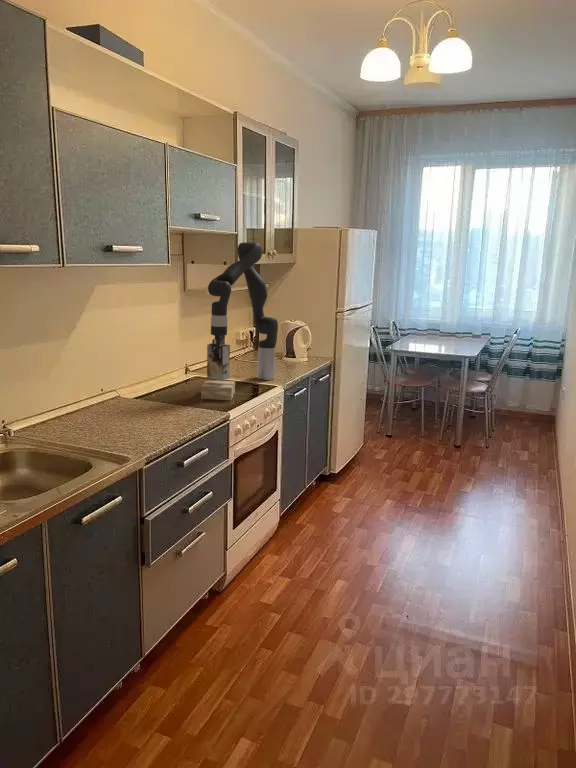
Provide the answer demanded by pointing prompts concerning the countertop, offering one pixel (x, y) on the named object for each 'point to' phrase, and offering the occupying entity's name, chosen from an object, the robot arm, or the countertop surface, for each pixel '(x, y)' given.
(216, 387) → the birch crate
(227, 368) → the coffee box
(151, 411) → the countertop surface
